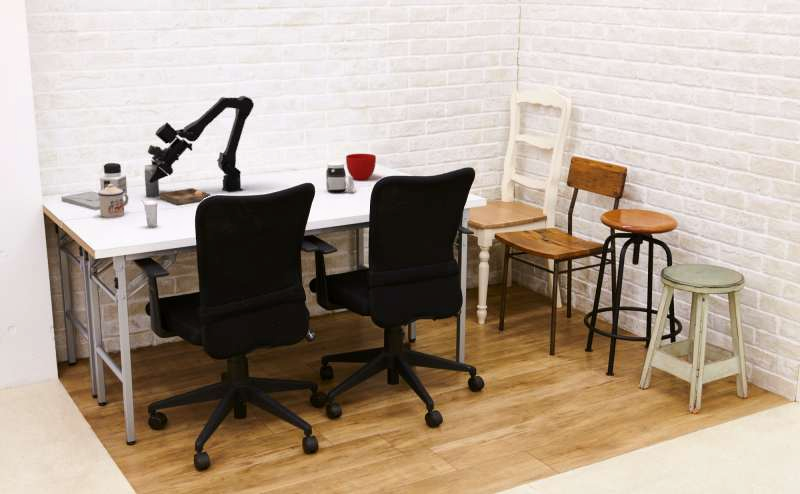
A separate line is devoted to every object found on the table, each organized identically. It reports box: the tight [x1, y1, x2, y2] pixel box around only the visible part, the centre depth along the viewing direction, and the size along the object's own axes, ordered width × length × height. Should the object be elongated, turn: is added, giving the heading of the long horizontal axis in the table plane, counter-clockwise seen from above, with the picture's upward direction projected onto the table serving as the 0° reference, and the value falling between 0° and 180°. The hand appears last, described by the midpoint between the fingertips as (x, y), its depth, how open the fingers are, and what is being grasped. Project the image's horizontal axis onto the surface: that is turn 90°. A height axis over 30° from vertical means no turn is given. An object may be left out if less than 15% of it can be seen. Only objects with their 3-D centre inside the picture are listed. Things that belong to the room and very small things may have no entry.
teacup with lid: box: [97, 184, 129, 219], centre depth 386 cm, size 12×9×12 cm
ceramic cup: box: [345, 153, 377, 181], centre depth 452 cm, size 13×17×10 cm
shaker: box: [144, 164, 160, 199], centre depth 416 cm, size 5×5×12 cm
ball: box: [195, 190, 203, 196], centre depth 410 cm, size 3×3×3 cm
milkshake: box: [141, 199, 158, 228], centre depth 369 cm, size 4×5×10 cm
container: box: [99, 162, 128, 195], centre depth 418 cm, size 8×8×13 cm
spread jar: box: [325, 161, 356, 194], centre depth 425 cm, size 12×11×12 cm
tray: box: [159, 188, 211, 206], centre depth 411 cm, size 15×15×2 cm
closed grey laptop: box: [61, 190, 125, 211], centre depth 407 cm, size 24×2×14 cm
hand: (148, 180), depth 415 cm, fingers open, 8 cm apart
